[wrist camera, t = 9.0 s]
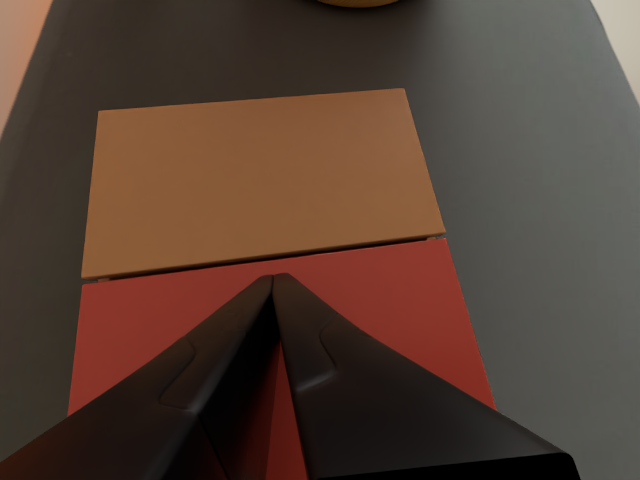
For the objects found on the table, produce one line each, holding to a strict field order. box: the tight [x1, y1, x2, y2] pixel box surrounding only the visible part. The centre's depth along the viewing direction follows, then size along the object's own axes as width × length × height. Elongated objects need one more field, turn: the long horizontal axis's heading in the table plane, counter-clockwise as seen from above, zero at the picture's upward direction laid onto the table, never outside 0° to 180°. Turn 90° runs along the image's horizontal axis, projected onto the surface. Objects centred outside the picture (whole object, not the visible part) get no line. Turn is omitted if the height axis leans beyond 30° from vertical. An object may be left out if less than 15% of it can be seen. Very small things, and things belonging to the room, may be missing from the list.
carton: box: [81, 88, 445, 282], centre depth 13 cm, size 13×12×8 cm
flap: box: [68, 238, 497, 480], centre depth 8 cm, size 6×12×1 cm, turn 98°
